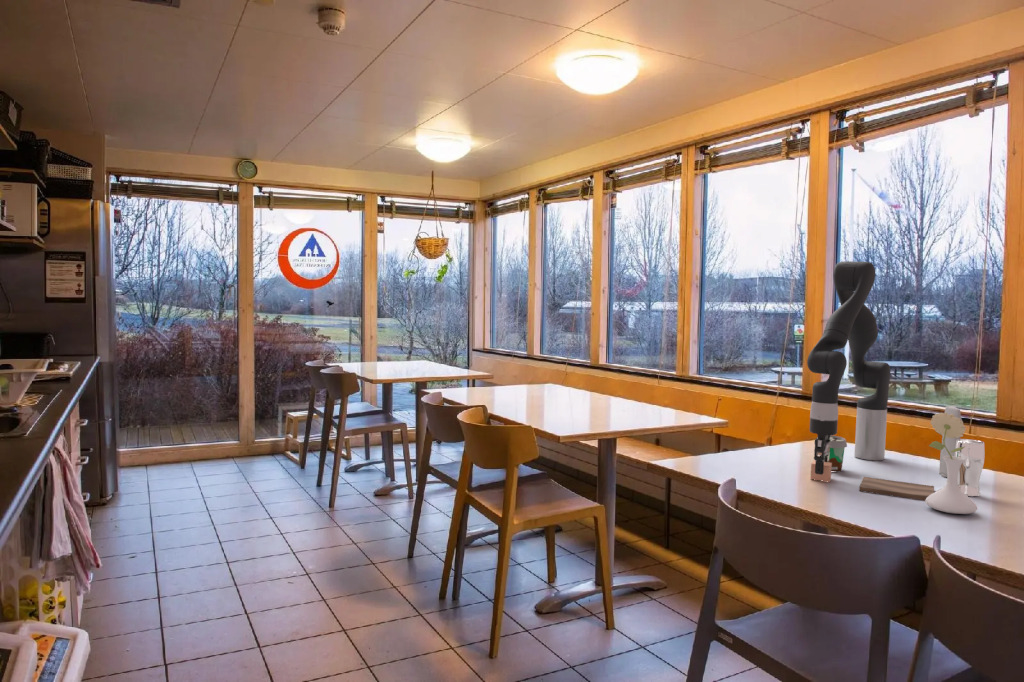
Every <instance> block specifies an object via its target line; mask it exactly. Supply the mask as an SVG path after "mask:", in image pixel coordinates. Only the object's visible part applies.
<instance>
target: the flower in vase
mask: <svg viewBox="0 0 1024 682" xmlns="http://www.w3.org/2000/svg"><path fill="white" fill-rule="evenodd" d="M929 423H930V425H931V426H932V429H934V431H935V432H936V433H938V435H941V436H942V435H944V438H943V444H944V445H943V444H942V442H939V441H938V440H935V441H932V442H931V443H930V444H928V447H930V448H933V449H936V450H938V451H941V450H942V449H943V448H944V447H945V449H946V450H947V452H948V454H949V455H950V456H942V458H943V459H944V461H945V463H946V465H947V478H946V479H947V480H946V483H945V485H944V486H943V487H942V488H940V489H939V490H936V491H934V493H933V494H931V495H929V496H928V497H927V498H926V500H924V502H925V504H926V505H927V506H928V507H930V508H932V509H934V510H935V511H936V510H937V511H940V512H943V513H948V514H955V515H957V514H958V515H968V514H973V513H976V512H977V511H978V506H977V504H976V503H975V502H974V501H973V500H972V498H971V497H968V496H967V495H965V494H964V493H963V492H962V491H961V490H960V489H959V487H958V472H959V468H960V466H961V464H962V463H963V462H964V461H965V459H964V458H961V457H955V456H951V454H950V452H949V451H948V449H947V447H946V445H945V437H949V438H954V437H955V438H958V437H960V438H962V437H964V434H965V432H966V431H967V429H966V426H965V425H964V421H963V420H962V421H960V418H956V417H954V415H953V414H950V415H949V414H948V413H943V412H940V413H935V414H934V415H932V418H931V419H930V422H929ZM964 447H965V446H964ZM964 447H960V448H956V449H954V450H952V451H951V452H957V451H960V450H962V449H963V448H964Z"/></svg>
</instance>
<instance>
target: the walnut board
mask: <svg viewBox="0 0 1024 682" xmlns="http://www.w3.org/2000/svg"><path fill="white" fill-rule="evenodd" d="M858 488H859V489H858V491H859V492H863V491H866V492H865V493H869V492H873V493H872V494H876V493H879V495H883V494H886V495H885V496H890V495H893V496H892V497H897V496H899V497H898V498H904V497H906V499H911V498H912V499H913V500H918V499H919V500H920V501H925V500H926V498H927V497H928V496H929V495H931V494H933V493H934V492H935V486H934V485H929V484H921V483H920V484H919V483H913V482H905V481H897V480H890V479H883V478H877V477H876V478H875V477H868V476H863V477H862V480H861V483H860V485H859V487H858Z"/></svg>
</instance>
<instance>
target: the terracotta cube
mask: <svg viewBox="0 0 1024 682" xmlns="http://www.w3.org/2000/svg"><path fill="white" fill-rule="evenodd" d="M815 462H816V461H815V460H813V461H812V462H811V463H810V465H811V466H810V480H811V479H815V480H823V481H828V482H827V483H830V481H831V480H832V472H831V468H832V463H830V462H824V471H823V474H822V475H821V474H816V473H815ZM830 479H831V480H830ZM815 480H814V481H815Z"/></svg>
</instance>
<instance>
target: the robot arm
mask: <svg viewBox="0 0 1024 682" xmlns="http://www.w3.org/2000/svg"><path fill="white" fill-rule="evenodd" d="M832 276H833V283H834V287H835V291H836V294H837V297H838V299H839V304H840V306H839V307H838V308H837V309H836V310H834V311H833V313H832V314H831V315H830V316H829V318H828V320H827V322H826V324H825V327H824V330H823V333H822V336H821V337H820V338H819V339H818V341H817V342H816V344H815V346H814V347H813V348H812V349H811V351H810V352H809V354H808V357H807V360H806V365H807V367H808V370H809V371H810V372H812V373H814V374H821V375H822V374H823V375H829V377H828V378H827V379H826V380H823V381H816V382H814V383H813V386H812V392H811V394H812V395H811V405H810V414H809V432H810V433H812V434H816V435H817V438H815V439H814V451H813V452H814V454H813V455H814V457H813V461H816V462H815V473H816V474H821V475H822V474H823V471H824V462H827V460H828V457H827V456H828V455H829V454H828V453H829V452H830V443H831V440H830V435H833V436H836V435H837V434H838V423H839V422H838V421H839V420H838V419H839V406H838V405H839V403H838V402H839V389H840V386H841V382H842V379H843V376H844V374H845V370H846V368H847V363H848V362H847V357H846V355H845V354H844V353H843V352H842V351H839V350H842V349H843V348H845V347H846V346H847V343H848V345H849V349H850V357H851V363H852V364H851V366H852V374H853V380H854V381H853V382H854V383H855V385H856V386H857V387H858V388H859V387H860V388H863V389H864V388H865V389H874V390H875V393H874V394H872V395H869V396H865V397H861V398H858V399H857V401H856V405H857V406H856V421H855V422H856V423H855V439H854V440H855V441H854V454H853V455H854V457H855V458H858V459H862V460H868V461H883V460H885V456H886V454H885V453H886V440H887V439H886V435H887V422H888V421H887V418H888V417H887V416H888V402H889V392H890V389H889V388H890V384H891V383H890V382H891V381H890V380H891V367H890V364H889V363H888V362H884V361H883V362H882V361H870V360H869V361H868V360H866V359H865V356H866V354H867V353H868V352H869V349H871V348H872V346H873V345H874V344H875V342H876V341H877V340H878V339H877V338H878V337H879V329H878V324H877V320H876V316H875V315H874V313H873V312H872V310H871V309H870V308H868V307H867V306H866V305H865V301H866V300H867V298H868V296H869V294H870V292H871V290H872V288H873V286H874V284H875V281H876V280H875V279H876V267H875V265H874V264H873V263H872V262H870V261H849V260H848V261H847V260H845V261H844V260H843V261H839V262H837V263H836V264H835V266H834V269H833V275H832Z"/></svg>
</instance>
